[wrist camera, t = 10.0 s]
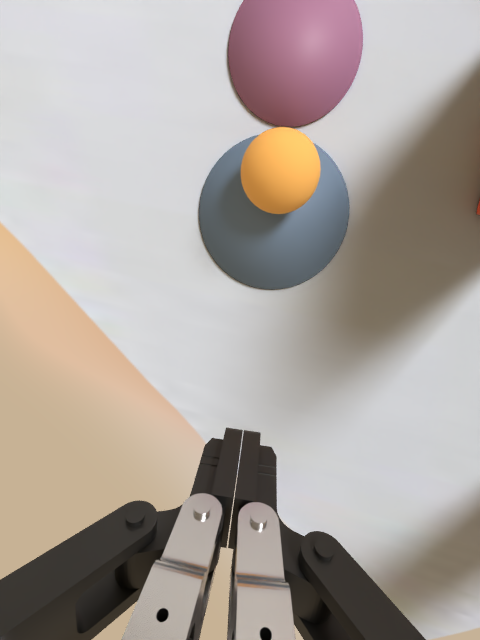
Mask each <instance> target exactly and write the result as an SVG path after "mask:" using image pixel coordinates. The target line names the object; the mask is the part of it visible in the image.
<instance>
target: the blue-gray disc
mask: <svg viewBox="0 0 480 640" xmlns="http://www.w3.org/2000/svg"><path fill="white" fill-rule="evenodd" d="M257 136H258V135H257ZM257 136H253V137H250V138H248V139H246V140H243V141H242V142H240V143H238V144H237V145H235V146H233V147H232V148H231V149H230V150H228V151H227V152H226V153H225V154H224V155H223V156H222V157H221V158H220V159H219V160H218V161H217V163H216V164H215V166H214V167H213V168H212V170H211V172H210V174H209V175H208V177H207V179H206V182H205V184H204V187H203V190H202V194H201V198H200V206H199V220H200V228H201V232H202V236H203V239H204V242H205V245H206V247H207V249H208V251H209V253H210V254H211V256H212V257H213V259H214V260H215V262H216V263H217V264H218V265H219V266H220V267H221V268H222V269H223V270H224V271H225V272H226V273H227V274H228V275H230V276H231V277H233V278H234V279H236V280H237V281H240V282H242V283H244V284H246V285H249V286H252V287H256V288H261V289H283V288H288V287H292V286H295V285H298V284H300V283H303V282H305V281H307V280H309V279H310V278H312V277H313V276H315V275H316V274H317V273H319V272H320V271H321V270H322V269H323V268H324V267H325V266H326V265H327V264H328V263H329V262H330V261H331V260H332V258H333V257H334V256H335V254H336V253H337V251H338V249H339V247H340V245H341V243H342V241H343V238H344V236H345V233H346V229H347V225H348V218H349V199H348V192H347V188H346V184H345V182H344V179H343V177H342V174H341V172H340V171H339V169H338V167H337V165H336V164H335V163H334V161H333V160H332V159H331V158H330V156H329V155H328V154H327V153H326V152H325V151H323V150H322V149H321V148H320V147H318V146H317V145H316V144H314V143H313V142H312V143H313V144H314V146H315V147H316V150H317V152H318V155H319V159H320V167H321V170H320V178H319V182H318V185H317V187H316V190H315V192H314V193H313V195H312V196H311V198H310V199H309V200H308V201H307V202H306V203H305V204H304V205H303V206H301V207H300V208H298V209H296V210H294V211H292V212H289V213H285V214H272V213H268V212H265V211H263V210H261V209H259V208H258V207H257V206H255V205H254V204H253V203H252V202H251V201H250V199H249V198H248V197H247V195H246V193H245V191H244V189H243V186H242V182H241V164H242V159H243V156H244V154H245V152H246V150H247V148H248V146H249V145H250V144H251V142H252V141H253V140H254V139H255V138H256V137H257Z"/></svg>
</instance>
